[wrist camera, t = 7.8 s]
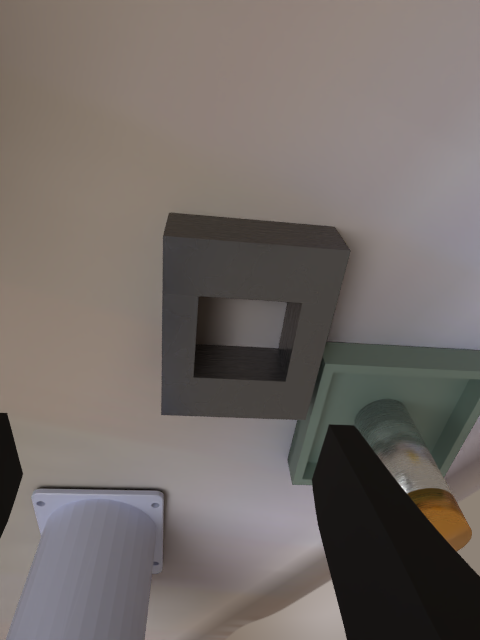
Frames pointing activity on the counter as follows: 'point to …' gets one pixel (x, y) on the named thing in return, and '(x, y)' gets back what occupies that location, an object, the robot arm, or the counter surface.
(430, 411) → the tray
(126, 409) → the counter surface
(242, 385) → the block
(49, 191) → the counter surface
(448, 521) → the small bottle
